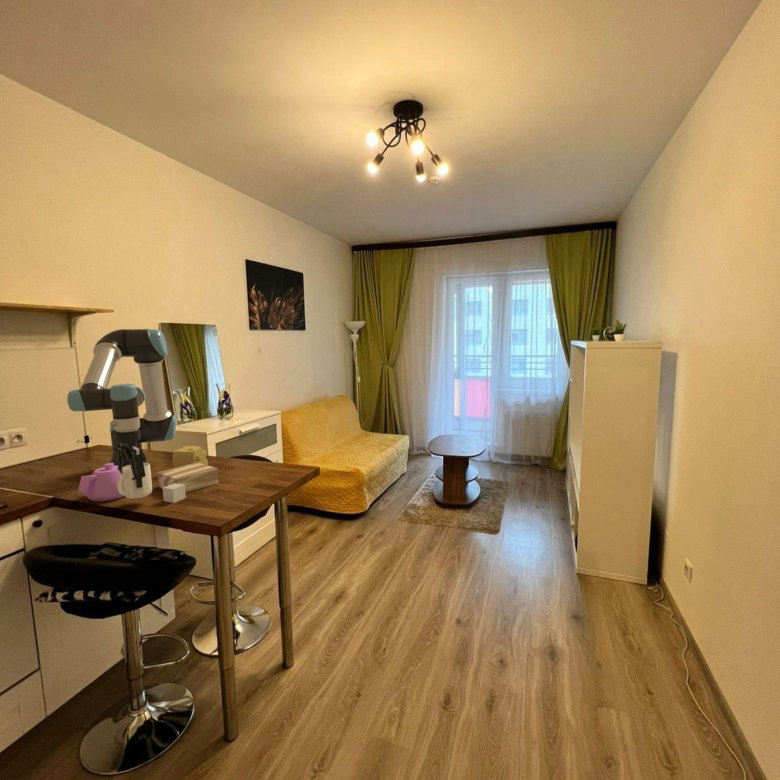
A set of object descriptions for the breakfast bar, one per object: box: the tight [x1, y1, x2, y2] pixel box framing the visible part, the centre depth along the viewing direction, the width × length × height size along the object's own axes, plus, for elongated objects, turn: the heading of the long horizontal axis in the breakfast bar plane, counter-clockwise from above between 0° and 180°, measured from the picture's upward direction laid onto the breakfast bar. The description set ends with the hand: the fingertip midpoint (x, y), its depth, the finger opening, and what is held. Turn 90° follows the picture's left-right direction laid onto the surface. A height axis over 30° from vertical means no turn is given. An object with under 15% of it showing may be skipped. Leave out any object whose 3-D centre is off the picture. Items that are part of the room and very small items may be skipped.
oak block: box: [156, 462, 220, 494], centre depth 163 cm, size 16×16×6 cm
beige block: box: [162, 483, 187, 504], centre depth 147 cm, size 5×5×5 cm
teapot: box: [77, 462, 126, 502], centre depth 153 cm, size 22×16×12 cm
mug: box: [117, 462, 153, 499], centre depth 141 cm, size 12×8×10 cm
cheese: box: [172, 445, 209, 468], centre depth 182 cm, size 10×11×10 cm
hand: (133, 493), depth 142 cm, fingers closed on mug, 8 cm apart
